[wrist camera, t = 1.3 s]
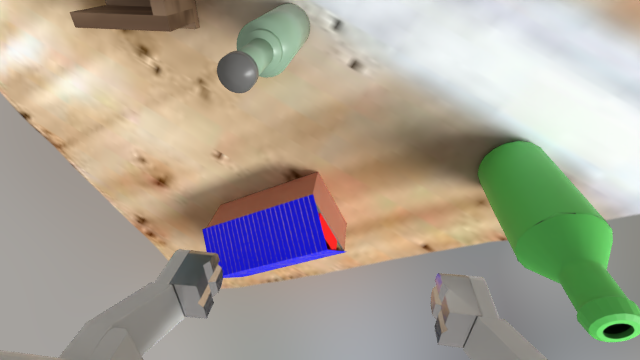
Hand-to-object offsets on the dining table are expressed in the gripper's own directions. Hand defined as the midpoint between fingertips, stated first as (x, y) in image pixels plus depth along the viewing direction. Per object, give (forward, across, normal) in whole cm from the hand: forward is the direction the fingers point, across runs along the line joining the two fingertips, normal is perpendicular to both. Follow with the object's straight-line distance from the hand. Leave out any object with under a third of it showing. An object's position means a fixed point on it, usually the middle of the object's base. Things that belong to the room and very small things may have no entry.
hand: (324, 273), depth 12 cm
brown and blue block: (+35, +11, +27) cm, 46 cm away
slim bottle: (+34, +8, -3) cm, 35 cm away
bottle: (+35, -23, +14) cm, 44 cm away
